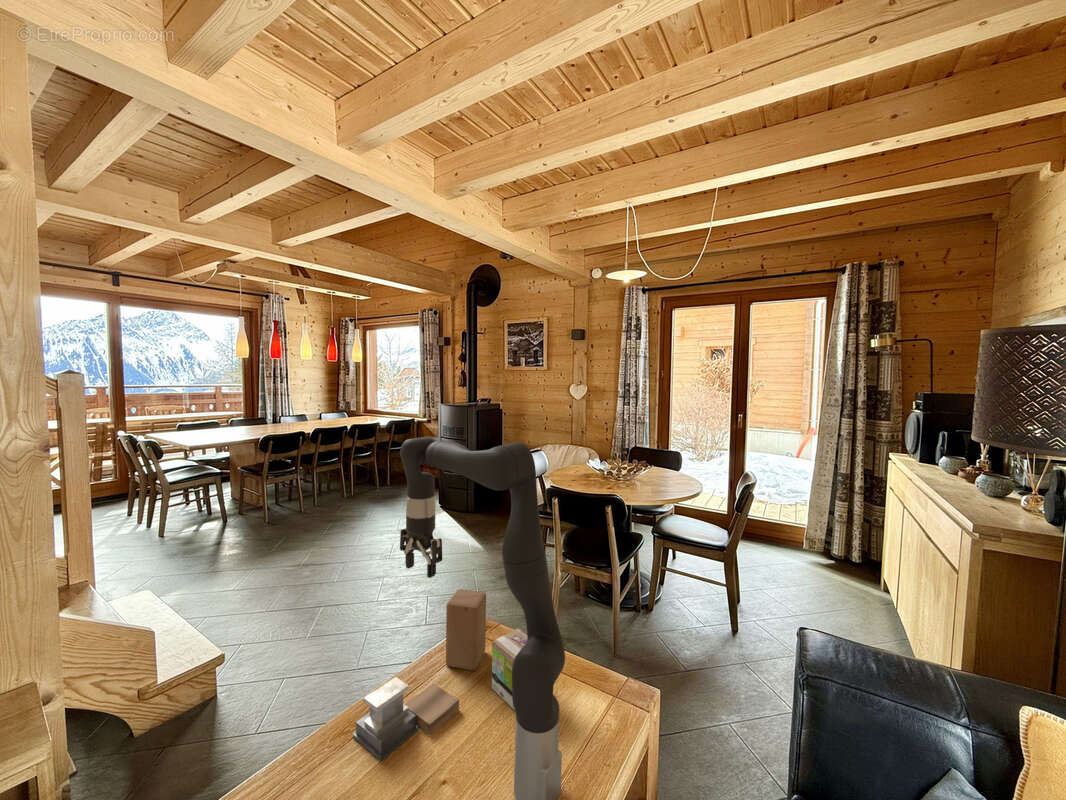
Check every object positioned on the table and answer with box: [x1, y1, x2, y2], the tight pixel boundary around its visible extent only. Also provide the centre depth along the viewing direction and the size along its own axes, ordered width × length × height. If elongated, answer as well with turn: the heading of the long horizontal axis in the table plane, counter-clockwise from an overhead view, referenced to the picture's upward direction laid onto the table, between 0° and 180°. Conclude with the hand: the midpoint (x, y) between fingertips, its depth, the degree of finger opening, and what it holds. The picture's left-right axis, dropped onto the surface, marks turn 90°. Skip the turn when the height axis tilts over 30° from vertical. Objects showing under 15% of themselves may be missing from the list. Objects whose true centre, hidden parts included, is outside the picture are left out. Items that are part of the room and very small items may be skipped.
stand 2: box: [404, 682, 460, 737], centre depth 113 cm, size 10×10×3 cm
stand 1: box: [352, 710, 420, 763], centre depth 106 cm, size 11×11×4 cm
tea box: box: [491, 627, 527, 711], centre depth 119 cm, size 15×10×15 cm, turn 42°
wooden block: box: [445, 588, 487, 671], centre depth 134 cm, size 10×10×20 cm
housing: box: [363, 676, 409, 736], centre depth 105 cm, size 9×5×7 cm, turn 144°
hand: (420, 571), depth 115 cm, fingers open, 8 cm apart
